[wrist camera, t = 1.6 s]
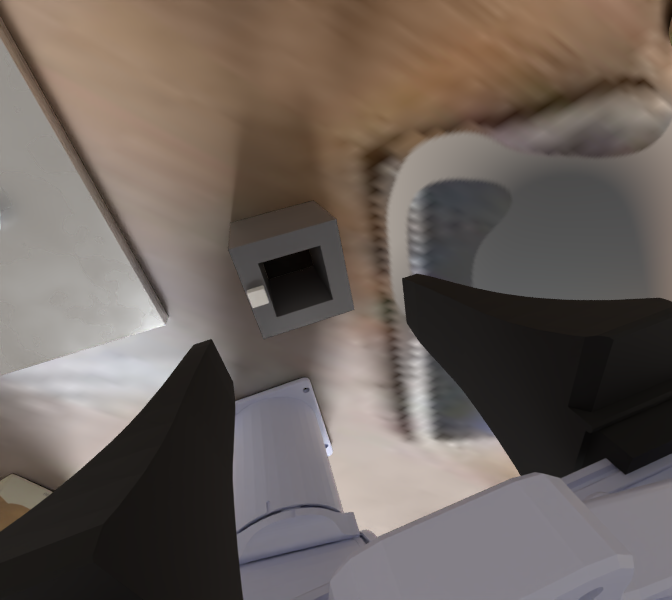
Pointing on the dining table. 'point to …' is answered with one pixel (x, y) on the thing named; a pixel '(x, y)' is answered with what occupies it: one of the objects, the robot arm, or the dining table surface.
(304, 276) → the hollow square box
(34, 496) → the skincare box
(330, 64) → the dining table surface
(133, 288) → the shaft plate
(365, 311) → the dining table surface
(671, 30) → the vegetable
